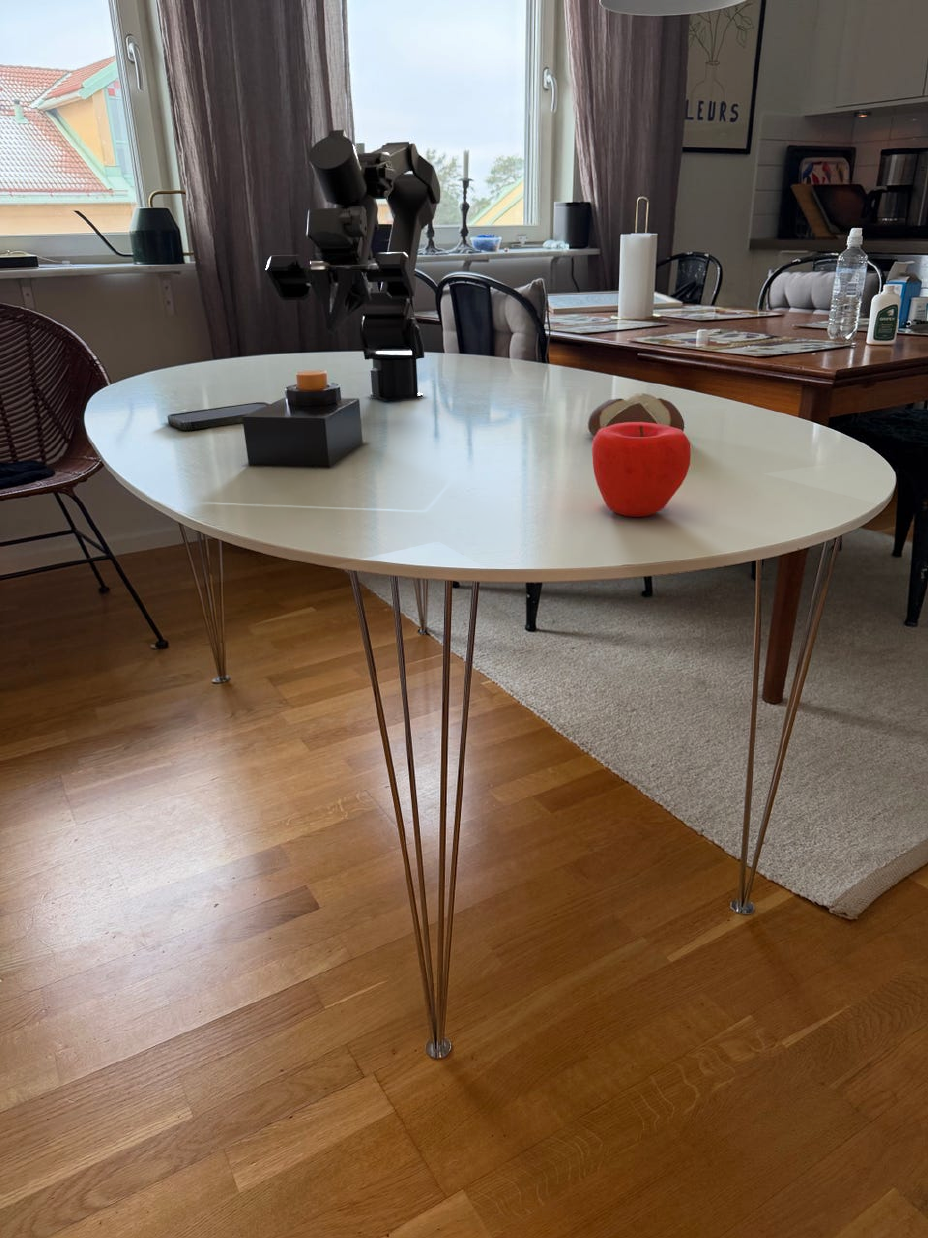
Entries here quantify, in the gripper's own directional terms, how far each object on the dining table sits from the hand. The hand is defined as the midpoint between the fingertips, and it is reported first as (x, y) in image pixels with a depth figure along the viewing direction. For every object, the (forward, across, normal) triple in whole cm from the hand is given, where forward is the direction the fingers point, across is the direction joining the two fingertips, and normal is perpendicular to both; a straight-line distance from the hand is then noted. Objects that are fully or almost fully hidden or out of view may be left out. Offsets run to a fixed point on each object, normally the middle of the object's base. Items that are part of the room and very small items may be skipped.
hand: (329, 329), depth 108 cm
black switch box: (+17, 0, +1) cm, 17 cm away
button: (+10, 0, -1) cm, 10 cm away
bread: (+9, +38, +10) cm, 41 cm away
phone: (+4, -20, +15) cm, 25 cm away
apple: (+30, +40, -11) cm, 51 cm away
